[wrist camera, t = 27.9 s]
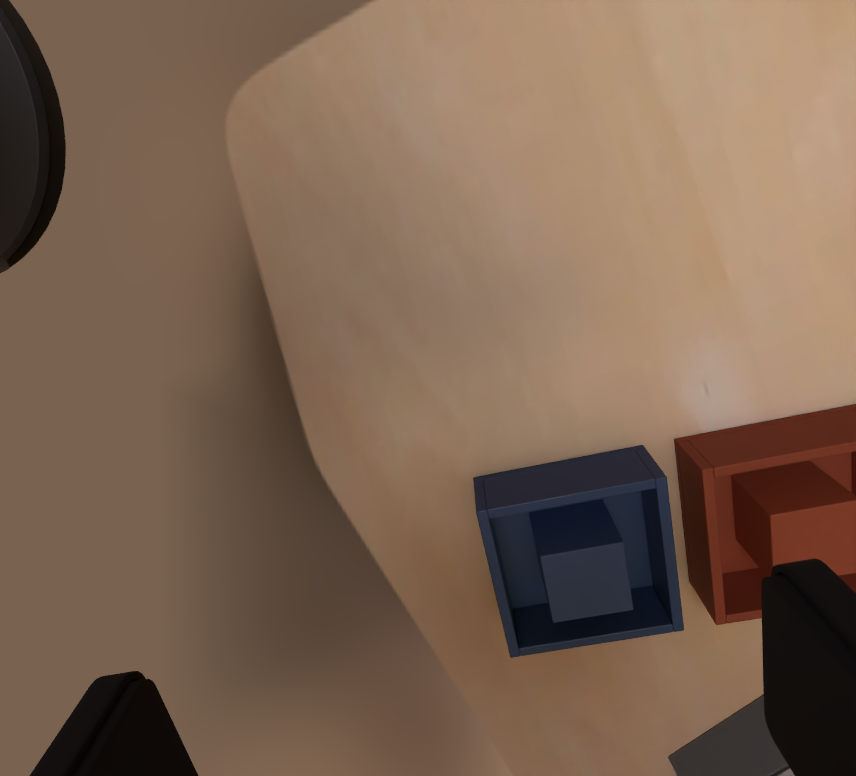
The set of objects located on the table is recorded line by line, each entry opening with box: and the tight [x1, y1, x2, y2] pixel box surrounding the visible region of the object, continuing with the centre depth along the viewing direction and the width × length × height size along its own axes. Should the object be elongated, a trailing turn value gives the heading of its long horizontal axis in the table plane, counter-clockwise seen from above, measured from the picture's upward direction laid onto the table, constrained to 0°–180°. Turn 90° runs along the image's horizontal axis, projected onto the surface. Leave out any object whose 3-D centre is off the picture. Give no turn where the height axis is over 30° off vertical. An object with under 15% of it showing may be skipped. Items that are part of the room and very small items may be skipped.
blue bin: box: [473, 445, 684, 658], centre depth 35 cm, size 10×10×4 cm
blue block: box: [529, 500, 633, 623], centre depth 34 cm, size 4×4×4 cm
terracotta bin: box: [674, 404, 856, 625], centre depth 34 cm, size 10×10×4 cm
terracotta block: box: [731, 461, 856, 577], centre depth 33 cm, size 4×4×4 cm
